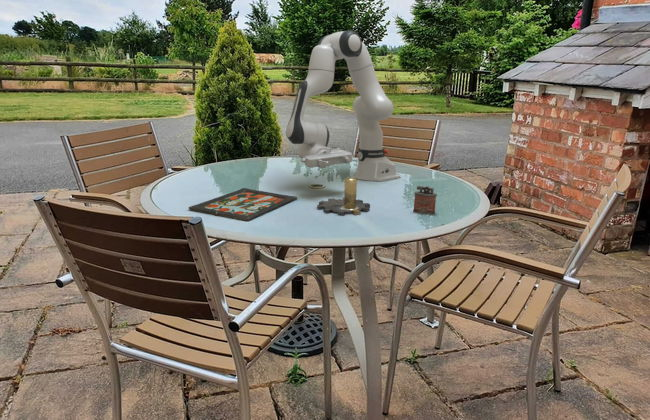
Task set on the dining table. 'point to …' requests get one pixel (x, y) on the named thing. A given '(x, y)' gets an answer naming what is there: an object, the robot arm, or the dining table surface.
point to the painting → (244, 204)
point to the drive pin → (350, 193)
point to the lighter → (424, 200)
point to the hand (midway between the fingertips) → (337, 162)
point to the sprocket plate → (342, 207)
